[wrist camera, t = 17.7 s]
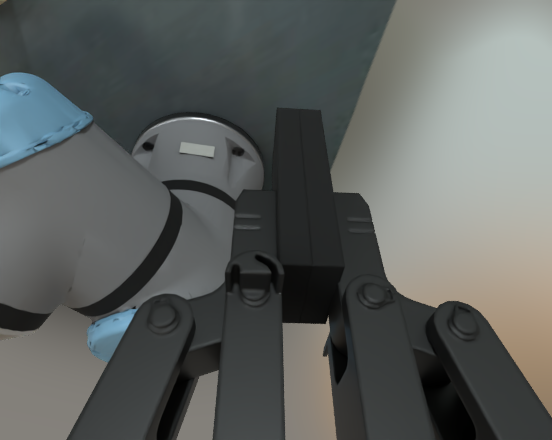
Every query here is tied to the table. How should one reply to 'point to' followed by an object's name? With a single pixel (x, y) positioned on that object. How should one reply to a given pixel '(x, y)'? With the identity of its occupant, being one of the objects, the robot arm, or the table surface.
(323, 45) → the table surface
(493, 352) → the robot arm
